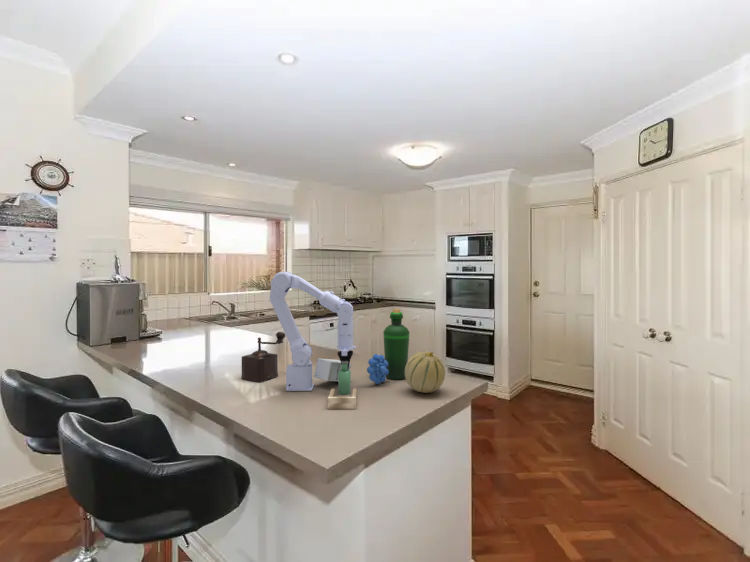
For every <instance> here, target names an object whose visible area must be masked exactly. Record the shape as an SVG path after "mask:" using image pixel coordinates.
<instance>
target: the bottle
mask: <svg viewBox="0 0 750 562" xmlns="http://www.w3.org/2000/svg"><path fill="white" fill-rule="evenodd" d="M389 314H390V315H389V319H390V320H391V324H389V325H388V326H386V327H385V328H384V330H383V350H384V357H385V360H386V361H387V362H388V367H386V368H387V369H388V371H389V373H388V375H385V377H386V379H389V380H393V381H398V380H404V379H406V378H405V367H406V364H407V362H408V360H409V347H410V331H409V329H408V328H407V327H406V326H405V325H403V324H402V322H403V321H402V320H403V319H404V316H403V315H404V314H403V312H402V311H401V308H392V312H390V313H389Z"/></svg>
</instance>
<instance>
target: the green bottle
mask: <svg viewBox="0 0 750 562" xmlns="http://www.w3.org/2000/svg"><path fill="white" fill-rule="evenodd" d="M351 373H352V371H351V369H350V370H348V361H341V370H339V371H338V381H337V382H338V383H337V384H338V385H337V386H338V388H337V389H338V390H337V391H338V392H337V393H338V395H342V396H347V395H351V394H352V393H351V392H352V391H351V388H352V386H351V385H352V384H351V383H352V381H351V379H352V378H351V377H352V374H351Z"/></svg>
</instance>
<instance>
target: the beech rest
mask: <svg viewBox="0 0 750 562" xmlns="http://www.w3.org/2000/svg"><path fill="white" fill-rule="evenodd" d="M357 393H358V391H357V388H353V389H352V395H351V396H336V389H335V388H330V391H329V394H328V397H327V409H328V410H341V409H343V410H352V409H353V410H356V408H357V407H356V406H357V396H358V394H357Z"/></svg>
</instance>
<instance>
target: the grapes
mask: <svg viewBox="0 0 750 562" xmlns="http://www.w3.org/2000/svg"><path fill="white" fill-rule="evenodd" d="M367 364H368V365H369V366H368V367H367V368H366V372H367V373H368V374H369V375H368V379H369V380H370V381H371V382H374V384H376V385H379V384H381V383H384V382H386V380H387V377H386V375H388V373H389V371H388V369H387V368H386V367H388V362H387V361H386V360H385V355H384V354H377V353H374V354H373V355H372V358H370V359H369V358H368V363H367Z"/></svg>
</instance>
